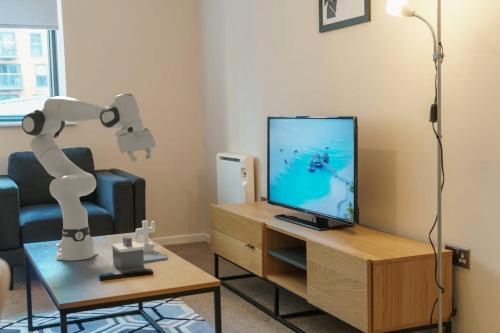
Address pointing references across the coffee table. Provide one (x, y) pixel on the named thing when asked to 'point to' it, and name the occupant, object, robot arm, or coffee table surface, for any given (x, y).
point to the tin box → (128, 259)
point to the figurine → (146, 236)
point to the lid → (127, 245)
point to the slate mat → (154, 257)
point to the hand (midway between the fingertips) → (141, 160)
